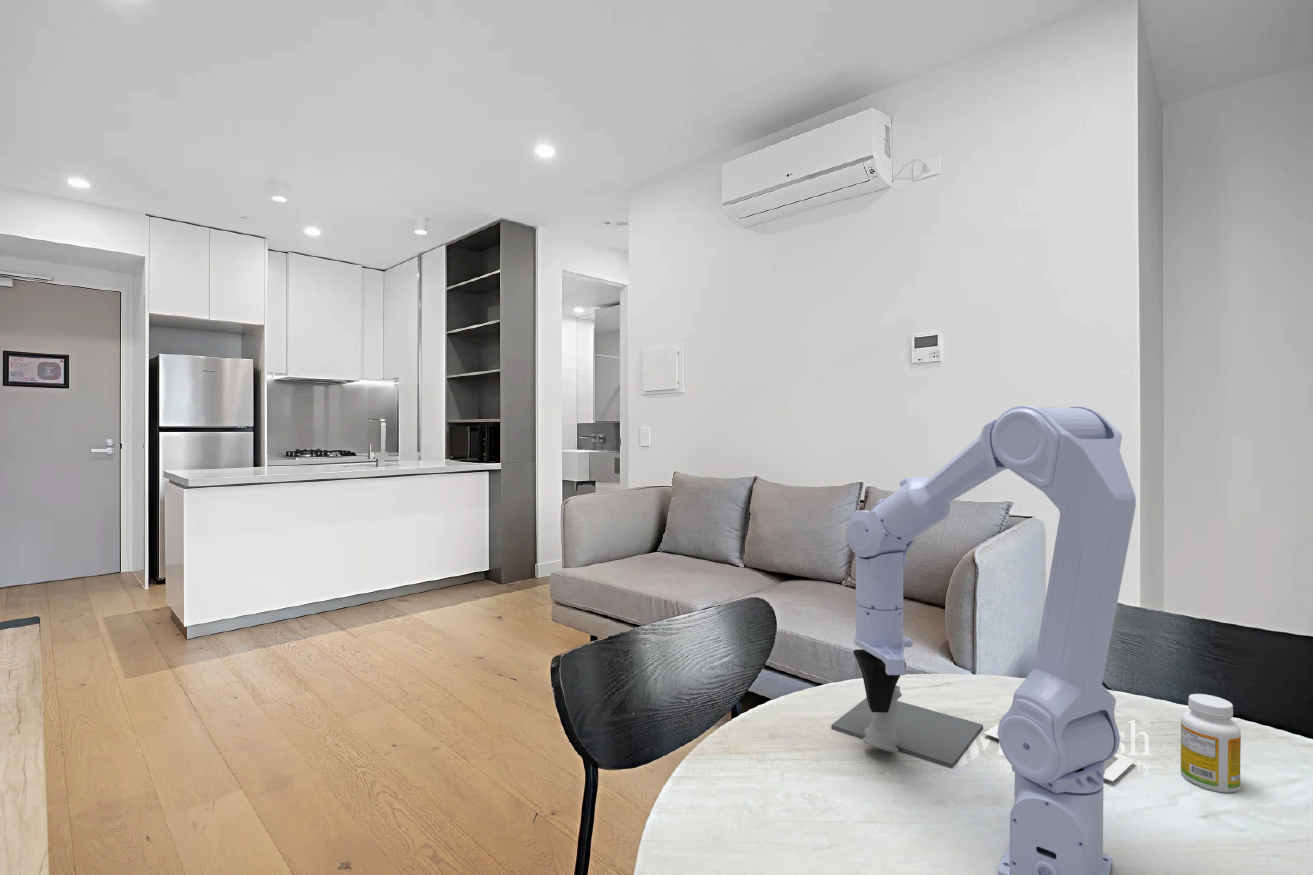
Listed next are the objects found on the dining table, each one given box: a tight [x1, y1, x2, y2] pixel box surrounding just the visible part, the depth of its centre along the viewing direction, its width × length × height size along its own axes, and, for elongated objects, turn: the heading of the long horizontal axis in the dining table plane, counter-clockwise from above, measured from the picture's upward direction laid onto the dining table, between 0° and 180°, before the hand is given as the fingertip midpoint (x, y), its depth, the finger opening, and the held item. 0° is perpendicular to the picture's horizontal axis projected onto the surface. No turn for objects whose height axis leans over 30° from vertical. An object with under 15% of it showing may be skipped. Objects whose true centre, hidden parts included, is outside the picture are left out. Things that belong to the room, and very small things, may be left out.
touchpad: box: [983, 723, 1136, 782], centre depth 83 cm, size 8×15×2 cm, turn 37°
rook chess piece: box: [862, 684, 903, 754], centre depth 83 cm, size 4×4×8 cm
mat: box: [830, 697, 984, 769], centre depth 90 cm, size 14×16×1 cm
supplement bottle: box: [1180, 693, 1242, 794], centre depth 76 cm, size 5×5×10 cm
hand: (878, 710), depth 82 cm, fingers closed
